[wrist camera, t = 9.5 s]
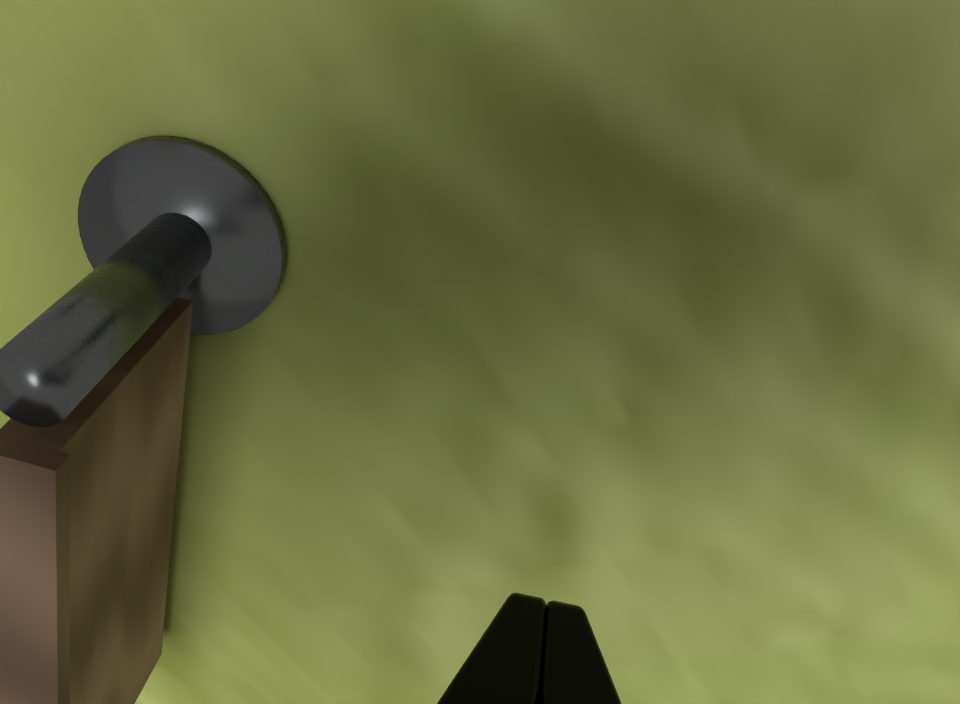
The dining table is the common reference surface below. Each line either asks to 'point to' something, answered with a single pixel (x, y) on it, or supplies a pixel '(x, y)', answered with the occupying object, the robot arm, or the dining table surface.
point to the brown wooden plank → (93, 530)
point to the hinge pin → (147, 269)
